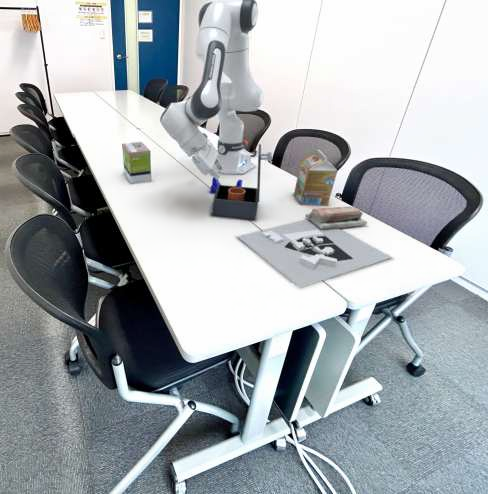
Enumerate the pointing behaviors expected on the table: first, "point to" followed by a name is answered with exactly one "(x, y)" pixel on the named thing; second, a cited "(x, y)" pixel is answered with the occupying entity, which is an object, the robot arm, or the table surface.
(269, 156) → the lid
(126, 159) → the tea box
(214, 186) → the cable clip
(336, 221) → the packaged product
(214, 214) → the dark grey open box
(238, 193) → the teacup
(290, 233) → the architectural model
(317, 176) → the milk carton
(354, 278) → the table surface
